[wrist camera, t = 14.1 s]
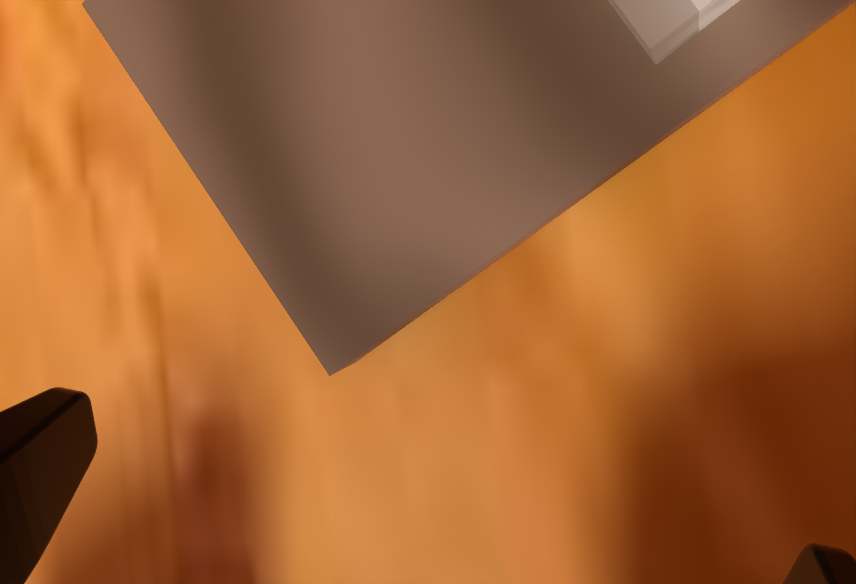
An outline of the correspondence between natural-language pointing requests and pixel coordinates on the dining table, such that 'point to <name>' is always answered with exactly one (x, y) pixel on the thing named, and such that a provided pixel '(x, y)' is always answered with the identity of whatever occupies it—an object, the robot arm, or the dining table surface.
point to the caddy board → (422, 126)
